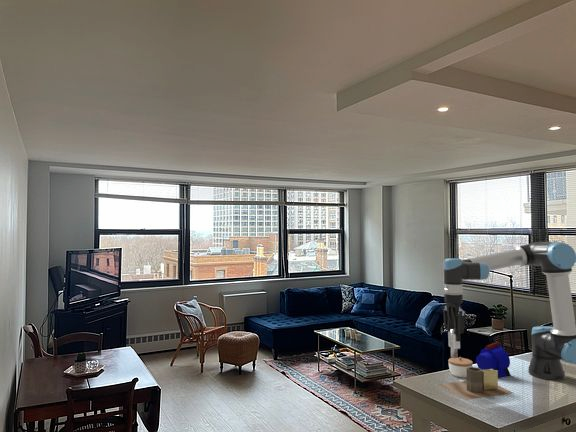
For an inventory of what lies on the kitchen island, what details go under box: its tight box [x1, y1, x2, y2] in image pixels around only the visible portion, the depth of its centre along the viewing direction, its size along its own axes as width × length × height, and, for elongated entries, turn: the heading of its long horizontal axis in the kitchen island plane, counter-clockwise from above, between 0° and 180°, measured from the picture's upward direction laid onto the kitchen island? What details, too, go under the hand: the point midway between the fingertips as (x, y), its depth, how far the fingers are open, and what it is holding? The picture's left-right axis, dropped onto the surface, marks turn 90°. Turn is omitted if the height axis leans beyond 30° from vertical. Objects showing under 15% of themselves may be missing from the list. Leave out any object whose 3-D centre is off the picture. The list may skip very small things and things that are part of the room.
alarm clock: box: [475, 341, 512, 379], centre depth 207 cm, size 12×12×15 cm
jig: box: [438, 366, 514, 400], centre depth 184 cm, size 24×18×10 cm
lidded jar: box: [447, 356, 474, 378], centre depth 202 cm, size 11×11×9 cm
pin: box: [450, 328, 459, 358], centre depth 186 cm, size 3×3×12 cm
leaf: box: [483, 370, 499, 390], centre depth 182 cm, size 7×1×8 cm, turn 103°
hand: (454, 347), depth 186 cm, fingers closed on pin, 3 cm apart
